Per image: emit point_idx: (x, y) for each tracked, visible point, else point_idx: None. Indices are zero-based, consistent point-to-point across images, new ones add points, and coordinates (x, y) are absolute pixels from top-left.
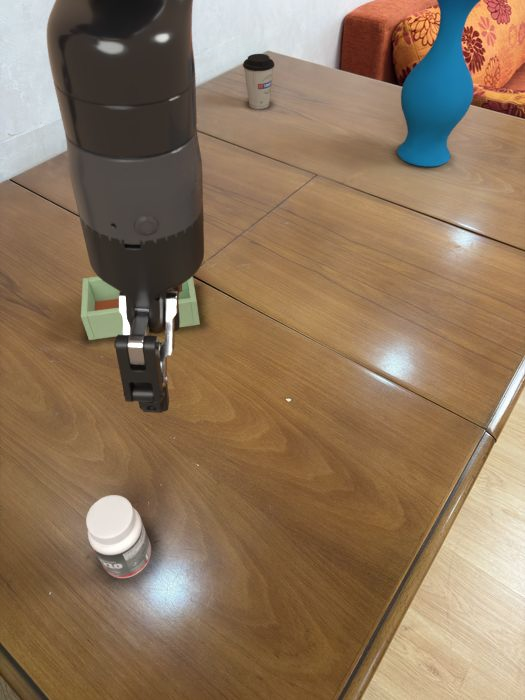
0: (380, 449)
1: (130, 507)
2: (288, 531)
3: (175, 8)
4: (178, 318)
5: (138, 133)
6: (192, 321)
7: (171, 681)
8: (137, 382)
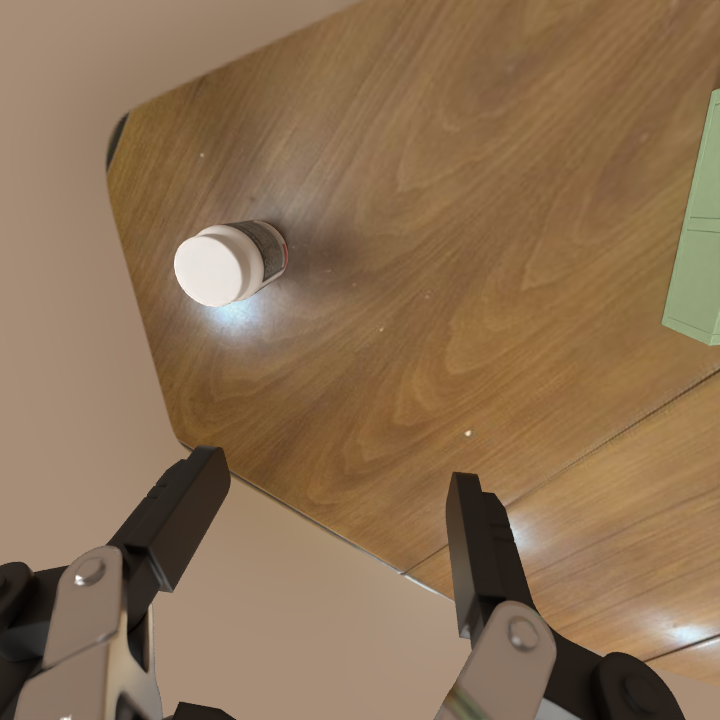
0: (389, 501)
1: (224, 303)
2: (300, 417)
3: None
4: (450, 555)
5: None
6: (671, 316)
7: (149, 313)
8: (14, 631)
